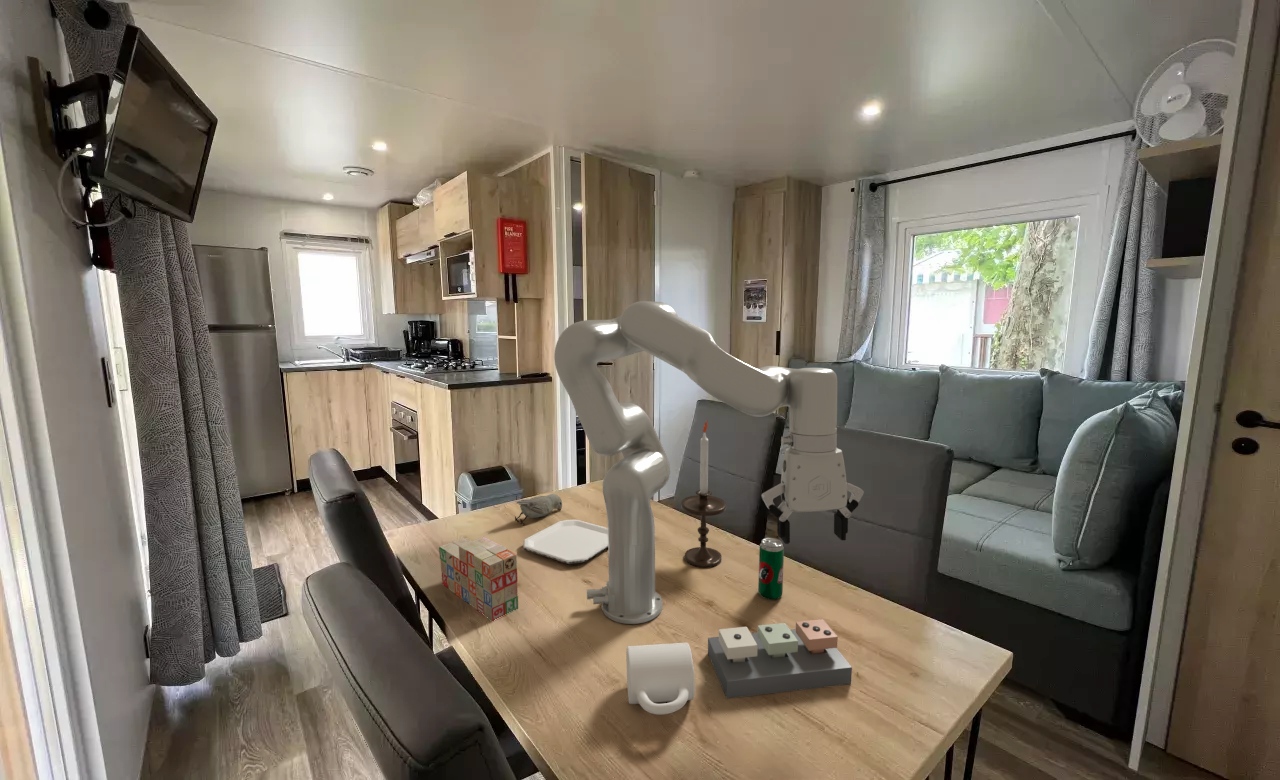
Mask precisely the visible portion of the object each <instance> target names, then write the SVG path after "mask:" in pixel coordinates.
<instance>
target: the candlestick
mask: <svg viewBox="0 0 1280 780" xmlns="http://www.w3.org/2000/svg"><path fill="white" fill-rule="evenodd" d="M707 429H708V419H706V422H704V426H703V429H702V431H703V432H702V437H701V438H700V442H699V443H700V446H699V447H700V450H699V451H700V452H699V453H700V454H699V455H700V456H699V457H700V459H699V460H700V461H699V464H700V465H699V490H696V491H695V494H696V495H690V496H688V497H685V498H683V499H682V500H681V503H680V507H681V509H682V511H684V512H686V513H688V514H691V515H694V516H700V526H699V527H698V528H697V532H698V534H699V537H698V542H699V544H700V546H697V547H691V548H689V549H687V550H686V551H685V552H684V560H685V562H686V563H687V564H688V565H690V566H692V567H695V568H703V569H711V568H714V567H716V566H719V565H720V564H721V563H722V554H721V552H719V551H718V550H717V549H714V548H711V547H707V542H708V541H709V538H708V537H707V536H708V534H709V533H710V528H709V527H707V517H711V516H718V515H721V514H723V513H724V512H726V510H727V502H726V501H725V500H724V499H722V498H720V497H717V496H712V494H713V492H712V491H711V490H708V489H709V481H708V480H709V438H708V437H707V434H706V432H707Z"/></svg>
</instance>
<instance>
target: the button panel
mask: <svg viewBox="0 0 1280 780" xmlns="http://www.w3.org/2000/svg"><path fill="white" fill-rule="evenodd" d="M790 630H791V632H792V633H793V634H794V636H795V637H796V639H797V640H798V652H792V653H785V657H782V658H773V659H772V658H771V656H770V655H769V654H768V653H767V651H766V649H765V648H764V646H763V644H762V643H761V641H760V639H759V638H758V632H753V633H752V632H750V633H751V635H752V636H753V638H754V640H755V642H756V643H757V656H755V657H745V662H736V663H731V661H730V659H727V657H726V655H725V653H724V650H723V648H722V646H721V644H720V642H719V636H713V637H708V638H707V654H708V657H709V659H710V661H711V665H712V666H713V667H712V668H714V669H713V670H714V672H715V673H716V676H717V678H718V681H719V683H720V686H721V688H722V690H723V693H724V695H725V697H726V699H736V698H744V697H752V696H761V695H771V694H778V693H786V692H794V691H795V692H796V691H803V690H811V689H820V688H829V687H838V686H845V685H851V684H852V675H853V667H852V666H851V664H850V663H849V662H848V660H847V659H846V658H845V657H844V656H843V654H842V653H841V652H840V651H839V650H838V647H837V648H829V649H824V653H819V654H811V653H810V652H809V650H808V649H807V647H806V646H805V644H804V643H803V642H802V640H801V639H800V638H799V636H798V635H797V633H796V628H794V629H791V628H790Z"/></svg>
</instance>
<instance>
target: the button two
mask: <svg viewBox="0 0 1280 780" xmlns="http://www.w3.org/2000/svg"><path fill="white" fill-rule="evenodd" d="M757 633H758V638H759V639H760V641H761V643H762V644H763V646H764V648H765V649H766V651H767V653H768V654H769V655H770V656H771V658H772V659H773V658H782V657H785V653H792V652H798V640H797V639H796V637H795V636H794V634H793V633H792V632H791V628H789V625H788V624H787V623H786V622H780V623H771V624H760V625H757Z"/></svg>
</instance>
